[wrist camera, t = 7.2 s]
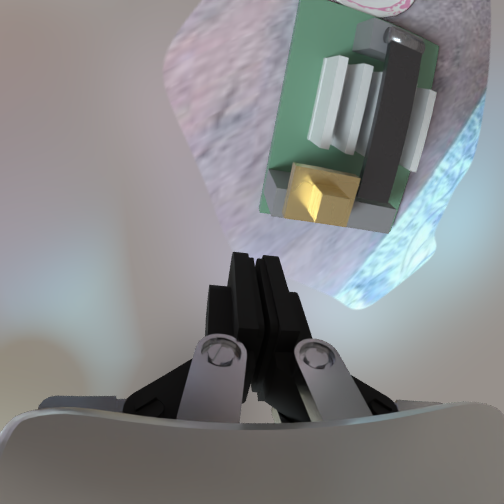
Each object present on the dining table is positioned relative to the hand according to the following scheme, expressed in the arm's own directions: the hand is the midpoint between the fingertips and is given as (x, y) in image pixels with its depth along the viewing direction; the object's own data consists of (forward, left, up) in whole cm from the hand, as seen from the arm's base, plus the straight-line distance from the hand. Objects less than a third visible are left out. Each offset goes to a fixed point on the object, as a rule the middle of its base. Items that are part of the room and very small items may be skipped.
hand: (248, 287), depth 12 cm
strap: (-8, +11, -15) cm, 20 cm away
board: (-6, +11, -20) cm, 24 cm away
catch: (0, +6, -12) cm, 14 cm away
